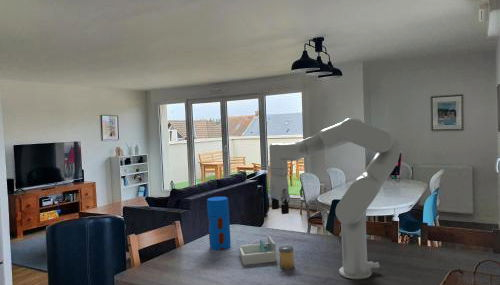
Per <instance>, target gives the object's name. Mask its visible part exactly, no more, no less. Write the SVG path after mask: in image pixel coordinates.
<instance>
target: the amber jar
mask: <svg viewBox="0 0 500 285" xmlns="http://www.w3.org/2000/svg"><path fill="white" fill-rule="evenodd" d="M278 252H279V268H281V269H285V270H289V269H292V268H294V267H295V257H294V247H293V246H292V245H281V246H279V247H278Z"/></svg>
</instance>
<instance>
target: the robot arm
mask: <svg viewBox="0 0 500 285" xmlns="http://www.w3.org/2000/svg"><path fill="white" fill-rule="evenodd" d="M348 143H352V144H354V145H357V146H359V147H362V148H364V149H367V150H369V151H371V152H375V155H374V157H373V158H372V159H371V161H370V162H369V163H368V165H367V166H366V168H365V170H364V171H363V172H362V173H361V174H360V175H358V177H356V178H355V179H354V180H353V181H352V183H351V185H349V187H348V189H347V190H346V192H345V193H344V194H343V196H342V197H341V198H340V200H339V202H338V203H337V204H336V207H335V216H336V218H337V220H338V221H339V222H340V223H341V224H340V225H341V226H340V227H341V228H340V230H341V251H342V255H341V256H342V266H341V267H340V268H339V271H338V272H339V274H340V276H342V277H343V278H347V279H351V280H365V279H368V278H370V277H371V276H372V274H373V272H372V271H373V270H372V269H375V268H376V269H378V268H380V263H379V262H374V261H373V260H371V261H368V249H367V248H368V247H367V246H368V243H367V210H368V208H369V207H370V205H371V204H372V203H373V202H374V200H375V199H376V197H377V195H378V194H379V193H380V190H381V189H382V187H383V186H384V184H385V182H386V181H387V180H388V178H389V176H390V175H391V174H392V172H393V171H394V169H395V168H396V167H397V164H398V162H399V159H400V155H401V147H400V143H399V140H398V137H397V136H396V135H395V133H394V132H393V131H391V130H390V129H388V128H378V127H376V126H373V125H370V124H368V123H365V122H363V120H361V119H360V118H358V117H348V118H345V119H344V120H343V121H342V122H339V123H336V124H334V125H331V126H329V127H326V128H323V129H321V130H320V131H318V132H317V133H316V134H314V135H312V136H309V137H307V138H304V139H301V140H299V141H294V142H290V143H284V142H274V143H270V145H269V175H270V176H269V177H270V179H269V197H271V198H270V199H271V209H272V210H279V209H280V208H281V209H280V210H281V215H289V214H290V206H289V205H290V198H291V195H290V194H289V190H290V189H289V181H288V175H289V174H288V173H289V172H288V171H289V170H288V167H289V164H288V161H290V162H297V161H298V160H303V159H304V158H307V157H310V156H312V155H315V154H318V153H321V152H324V151H325V152H326V151H329V150H331V149H335V148H337V147H340V146H343V145H346V144H348ZM280 202H281V205H280ZM280 206H281V207H280Z"/></svg>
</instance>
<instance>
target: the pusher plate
mask: <svg viewBox="0 0 500 285" xmlns="http://www.w3.org/2000/svg"><path fill="white" fill-rule="evenodd" d="M265 243H266V242H265V241H264V239H259V244H260V250H261V253H263V252H267V246H266V244H265Z"/></svg>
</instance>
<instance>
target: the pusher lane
mask: <svg viewBox="0 0 500 285" xmlns="http://www.w3.org/2000/svg"><path fill="white" fill-rule="evenodd" d="M264 243H265V244H266V246H267V252H263V253H261V250H260V243H256V244H255V243H253V244H244V245H238V248H239V249H238V250H239V253H238V255H239V257H240V260H241V262H242V265H243V266H247V265H255V264H256V265H257V264H263V263H272V262H277V250H276V249H277V248H276V242H275V241H274V240H273V238H272V237H271V236H270V235H268V236H267V242H264Z"/></svg>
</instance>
